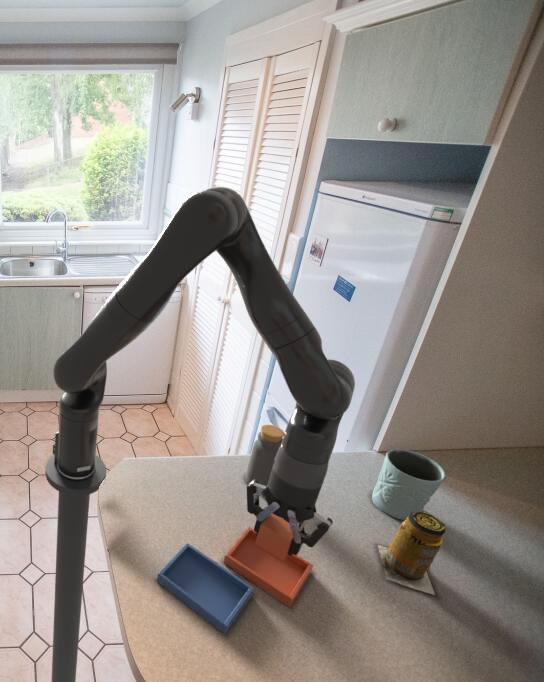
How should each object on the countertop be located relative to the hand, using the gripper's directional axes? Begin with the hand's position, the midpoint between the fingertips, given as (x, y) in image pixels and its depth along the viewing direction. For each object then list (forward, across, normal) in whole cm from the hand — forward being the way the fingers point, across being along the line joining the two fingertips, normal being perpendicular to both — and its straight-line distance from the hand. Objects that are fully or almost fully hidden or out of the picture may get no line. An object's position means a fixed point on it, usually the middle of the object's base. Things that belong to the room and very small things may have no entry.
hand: (275, 542), depth 84 cm
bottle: (+7, +11, -22) cm, 26 cm away
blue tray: (+7, +6, +13) cm, 16 cm away
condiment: (+7, -18, -19) cm, 27 cm away
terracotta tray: (+7, 0, 0) cm, 7 cm away
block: (0, 0, 0) cm, 0 cm away
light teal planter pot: (+7, -13, -37) cm, 40 cm away
